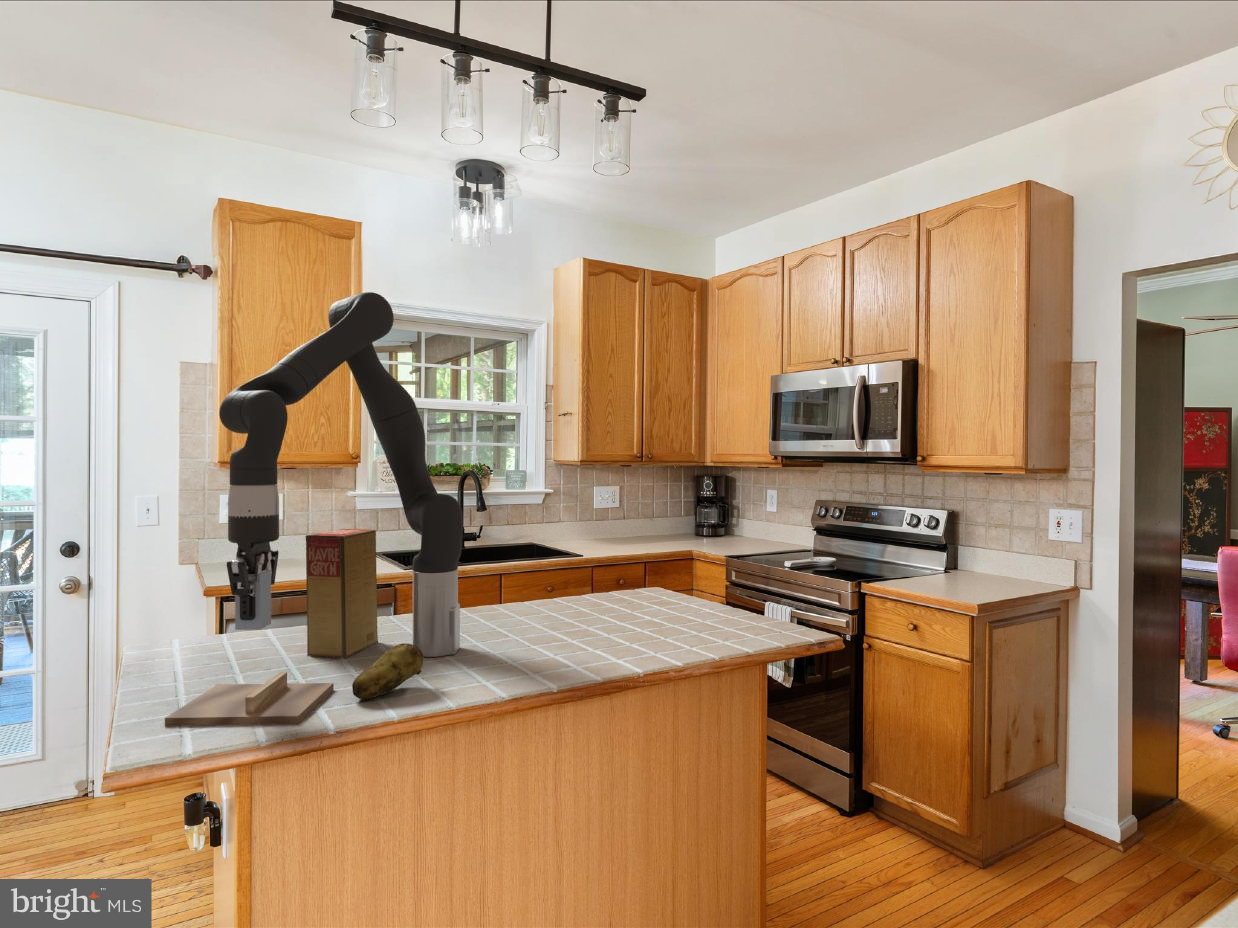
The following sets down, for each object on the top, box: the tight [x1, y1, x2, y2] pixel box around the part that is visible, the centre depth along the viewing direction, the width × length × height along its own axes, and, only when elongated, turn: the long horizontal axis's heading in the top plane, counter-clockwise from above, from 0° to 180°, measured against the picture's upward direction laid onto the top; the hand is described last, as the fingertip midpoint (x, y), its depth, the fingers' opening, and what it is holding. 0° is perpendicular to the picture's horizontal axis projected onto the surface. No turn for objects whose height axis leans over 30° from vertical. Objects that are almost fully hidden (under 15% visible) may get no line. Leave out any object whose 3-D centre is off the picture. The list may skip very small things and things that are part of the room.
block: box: [234, 570, 272, 631], centre depth 120 cm, size 4×4×9 cm
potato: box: [351, 642, 424, 701], centre depth 127 cm, size 8×13×8 cm, turn 124°
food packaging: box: [305, 528, 379, 659], centre depth 155 cm, size 13×9×25 cm
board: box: [164, 671, 334, 727], centre depth 120 cm, size 20×16×4 cm
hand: (254, 615), depth 120 cm, fingers closed on block, 4 cm apart
